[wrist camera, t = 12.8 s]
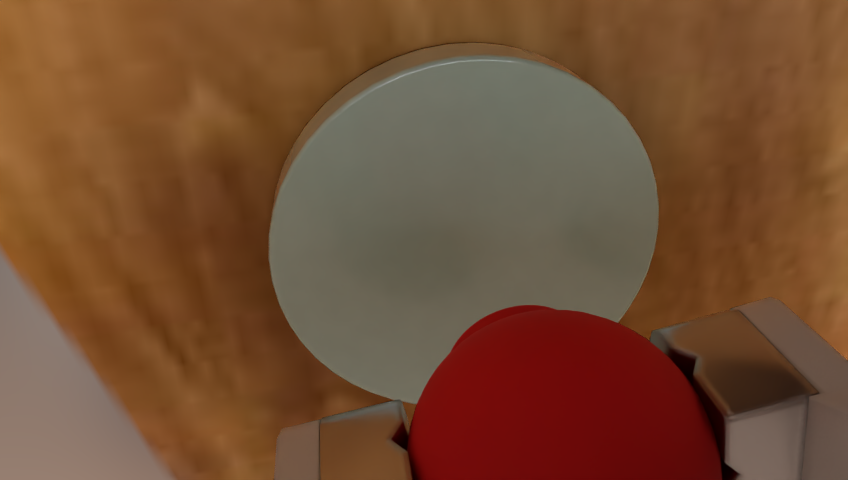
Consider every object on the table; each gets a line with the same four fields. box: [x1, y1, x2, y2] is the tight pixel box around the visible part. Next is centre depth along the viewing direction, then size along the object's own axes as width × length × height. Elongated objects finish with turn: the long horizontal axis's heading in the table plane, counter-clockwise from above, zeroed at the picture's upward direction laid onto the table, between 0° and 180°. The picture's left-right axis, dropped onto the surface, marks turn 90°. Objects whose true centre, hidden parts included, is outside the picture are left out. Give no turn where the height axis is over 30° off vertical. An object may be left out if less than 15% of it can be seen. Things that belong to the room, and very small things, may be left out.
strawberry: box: [407, 305, 722, 480], centre depth 7 cm, size 3×3×4 cm
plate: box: [269, 43, 659, 404], centre depth 12 cm, size 7×7×1 cm
